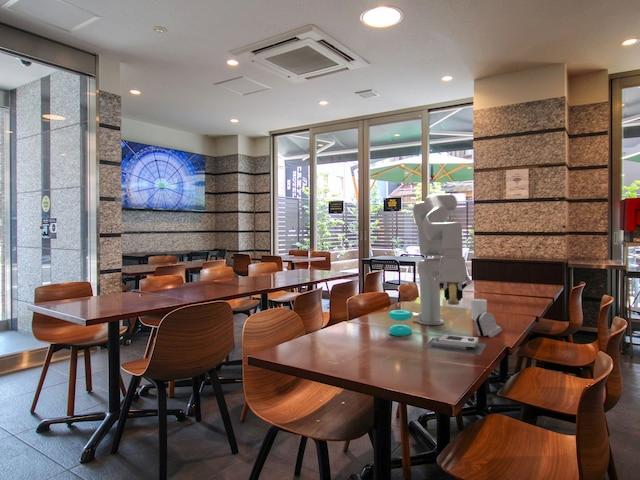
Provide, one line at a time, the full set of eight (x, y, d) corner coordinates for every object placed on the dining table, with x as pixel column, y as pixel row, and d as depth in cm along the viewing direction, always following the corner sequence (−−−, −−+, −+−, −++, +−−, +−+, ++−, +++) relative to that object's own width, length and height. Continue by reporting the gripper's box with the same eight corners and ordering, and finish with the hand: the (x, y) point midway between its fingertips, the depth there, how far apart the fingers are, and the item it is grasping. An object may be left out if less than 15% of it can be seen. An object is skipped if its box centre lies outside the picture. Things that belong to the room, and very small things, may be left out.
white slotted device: (490, 338, 169) (481, 315, 171) (479, 340, 172) (471, 317, 174) (502, 330, 182) (493, 308, 184) (491, 332, 185) (483, 311, 187)
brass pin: (447, 304, 160) (446, 278, 160) (449, 303, 163) (448, 278, 163) (457, 305, 158) (457, 279, 158) (459, 303, 161) (459, 278, 161)
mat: (422, 349, 156) (422, 347, 156) (432, 339, 170) (432, 338, 170) (480, 356, 146) (480, 354, 146) (486, 345, 160) (486, 343, 160)
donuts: (410, 314, 173) (386, 313, 177) (410, 337, 174) (387, 336, 177) (412, 310, 183) (390, 309, 186) (413, 332, 183) (391, 330, 186)
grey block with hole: (431, 346, 158) (430, 337, 158) (436, 340, 166) (436, 332, 166) (474, 351, 150) (474, 341, 150) (478, 345, 158) (478, 336, 158)
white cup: (488, 318, 207) (488, 299, 207) (485, 321, 201) (485, 301, 201) (472, 317, 212) (472, 298, 212) (468, 320, 205) (468, 300, 205)
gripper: (428, 253, 161) (429, 300, 161) (473, 253, 153) (474, 302, 153) (433, 253, 168) (434, 297, 168) (476, 253, 160) (477, 299, 160)
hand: (453, 299), depth 160 cm, fingers closed on brass pin, 4 cm apart
